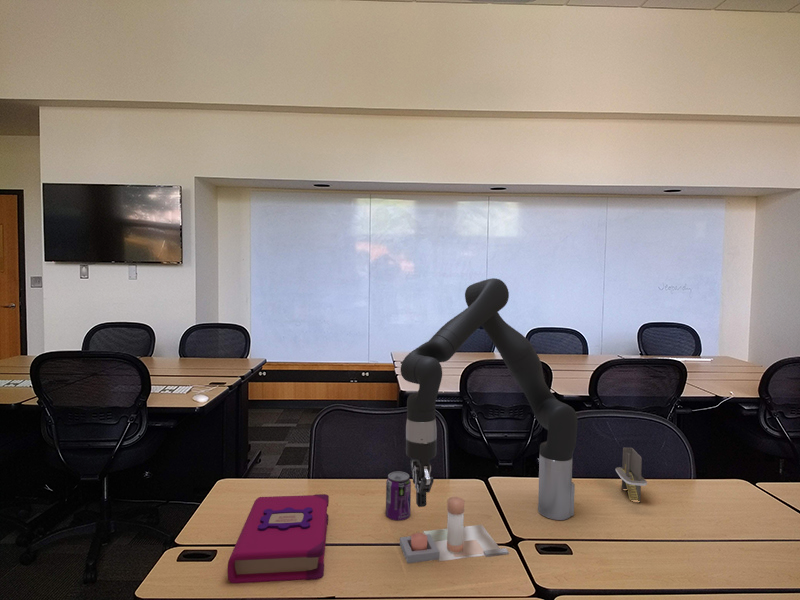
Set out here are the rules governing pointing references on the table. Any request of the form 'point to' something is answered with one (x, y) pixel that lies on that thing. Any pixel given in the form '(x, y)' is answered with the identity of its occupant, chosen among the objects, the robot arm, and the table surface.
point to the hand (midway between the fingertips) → (421, 505)
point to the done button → (418, 542)
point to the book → (281, 540)
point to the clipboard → (467, 543)
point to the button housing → (419, 555)
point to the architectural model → (631, 473)
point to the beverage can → (398, 496)
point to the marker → (455, 525)
